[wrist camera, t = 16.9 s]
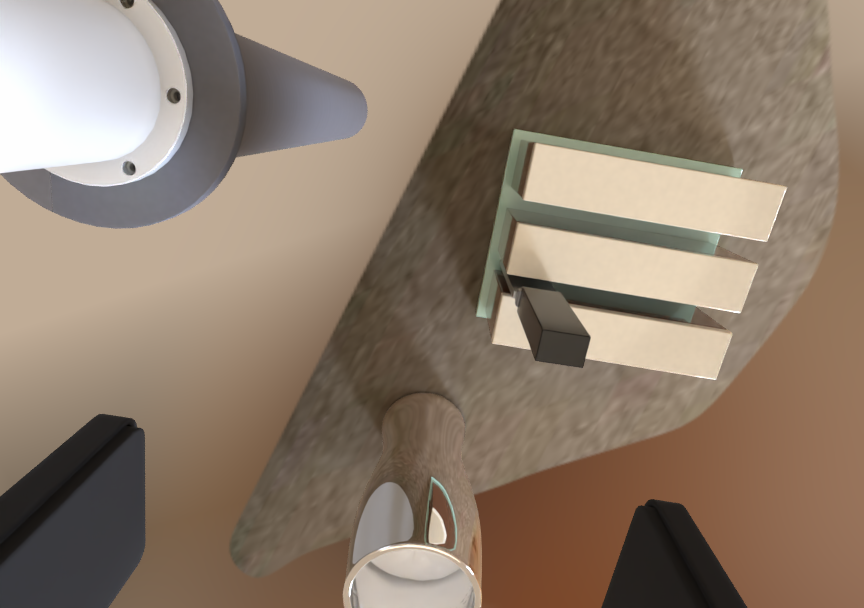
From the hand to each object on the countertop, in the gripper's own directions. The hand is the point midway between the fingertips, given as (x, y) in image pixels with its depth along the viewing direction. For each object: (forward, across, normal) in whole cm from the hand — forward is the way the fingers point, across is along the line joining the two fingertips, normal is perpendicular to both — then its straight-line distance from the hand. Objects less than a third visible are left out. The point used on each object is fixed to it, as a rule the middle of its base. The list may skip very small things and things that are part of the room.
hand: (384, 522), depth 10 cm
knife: (+26, -6, +1) cm, 26 cm away
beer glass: (+26, -2, +14) cm, 30 cm away
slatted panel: (+26, -11, -2) cm, 29 cm away
